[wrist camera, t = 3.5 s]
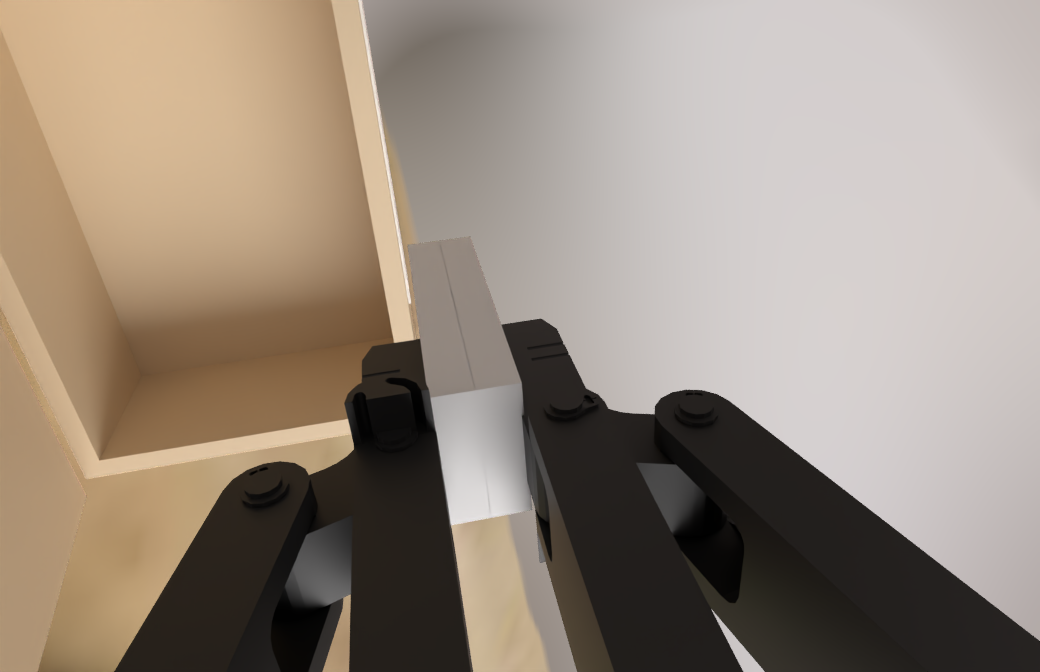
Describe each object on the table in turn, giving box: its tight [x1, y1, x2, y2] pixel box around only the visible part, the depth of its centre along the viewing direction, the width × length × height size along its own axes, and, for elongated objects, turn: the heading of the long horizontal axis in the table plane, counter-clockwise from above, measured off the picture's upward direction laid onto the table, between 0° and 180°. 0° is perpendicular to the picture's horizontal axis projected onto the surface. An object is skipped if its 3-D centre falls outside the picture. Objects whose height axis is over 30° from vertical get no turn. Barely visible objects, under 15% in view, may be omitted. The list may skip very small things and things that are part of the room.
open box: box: [0, 0, 416, 479], centre depth 27 cm, size 22×14×7 cm, turn 4°
